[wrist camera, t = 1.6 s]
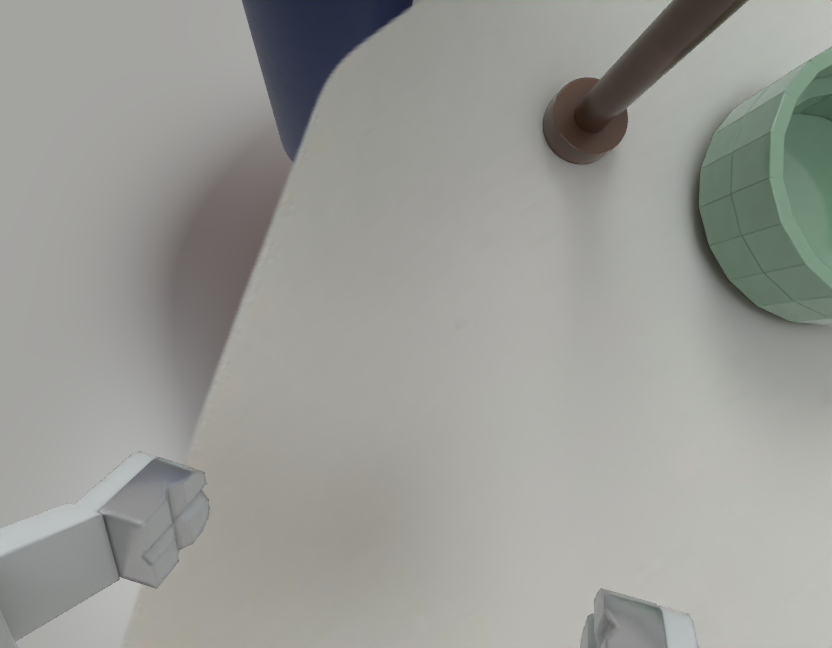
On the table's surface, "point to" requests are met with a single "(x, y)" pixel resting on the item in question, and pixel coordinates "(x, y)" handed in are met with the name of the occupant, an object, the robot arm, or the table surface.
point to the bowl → (776, 194)
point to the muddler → (628, 80)
